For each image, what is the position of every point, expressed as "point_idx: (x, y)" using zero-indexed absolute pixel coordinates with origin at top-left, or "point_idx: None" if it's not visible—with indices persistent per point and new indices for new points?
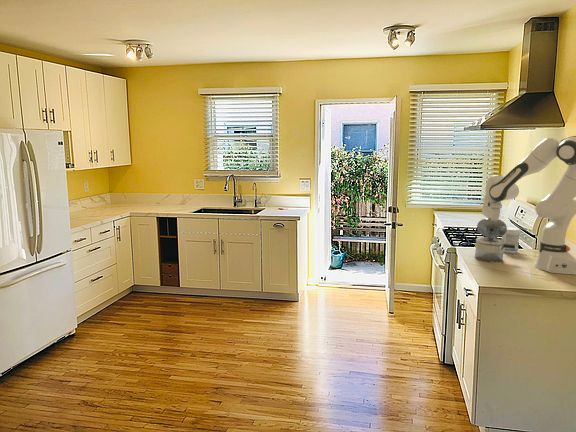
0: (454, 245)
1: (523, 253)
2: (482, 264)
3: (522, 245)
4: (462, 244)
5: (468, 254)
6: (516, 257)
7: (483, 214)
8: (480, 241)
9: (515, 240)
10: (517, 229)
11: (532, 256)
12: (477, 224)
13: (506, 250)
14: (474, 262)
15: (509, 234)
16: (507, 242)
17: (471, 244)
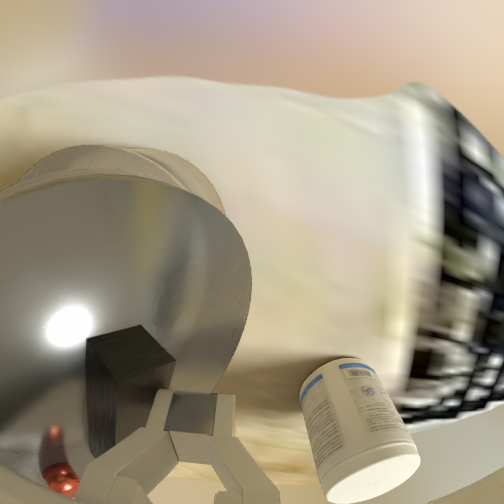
0: (455, 123)
1: (303, 423)
2: (28, 166)
3: (419, 428)
4: (476, 184)
5: (235, 125)
6: (219, 386)
7: (462, 498)
8: (25, 174)
9: (311, 448)
10: (342, 500)
11: (254, 437)
12: (82, 179)
13: (312, 378)
14: (52, 128)
15: (329, 456)
16: (322, 412)
17: (475, 237)
